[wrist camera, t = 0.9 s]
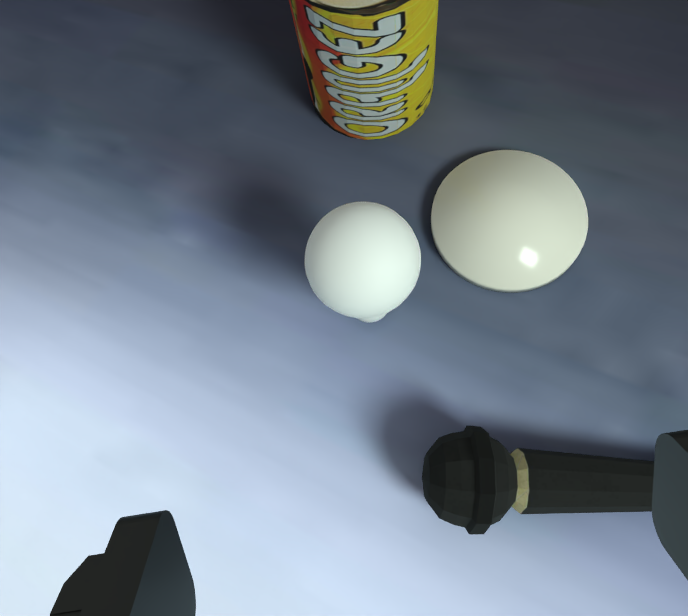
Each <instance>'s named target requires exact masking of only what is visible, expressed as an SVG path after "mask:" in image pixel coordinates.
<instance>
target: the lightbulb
mask: <svg viewBox="0 0 688 616" xmlns="http://www.w3.org/2000/svg"><path fill="white" fill-rule="evenodd" d="M420 267H421V252H420V248H419V244H418V241H417V238H416V236H415V234H414V232H413V230H412V228H411V227H410V226H409V224H408V223H407V222H406V220H404V219H403V218H402V217H401V216H400V215H399V214H397V213H396V212H395V211H393V210H392V209H390V208H388V207H386V206H383V205H380V204H378V203H372V202H354V203H349V204H345V205H342V206H340V207H337V208H335V209H334V210H332V211H331V212H329V213H327V214H326V215H325V216H324V217H323V218H322V219H321V220H320V221H319V222H318V224H317V225H316V226H315V228H314V229H313V231H312V233H311V235H310V237H309V239H308V242H307V246H306V250H305V270H306V276H307V278H308V281H309V283H310V286H311V288H312V290H313V291H314V293H315V294H316V296H317V297H318V298H319V299H320V300H321V301H322V302H323V303H324V304H325V305H326V306H328V307H330V308H331V309H333V310H334V311H336V312H338V313H340V314H343V315H345V316H349V317H354V318H358V319H359V320H361V321H363V322H376V321H378V320H380V319H382V318H383V317H384V316H385V315H386V313H388V312H390V311H391V310H393V309H394V308H396V307H398V306H399V305H400V304H401V303H402V302H403V301H404V300H405V299H406V298H407V297H408V295H409V294H410V293H411V291H412V290H413V288H414V287H415V284H416V282H417V279H418V277H419V272H420Z"/></svg>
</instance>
